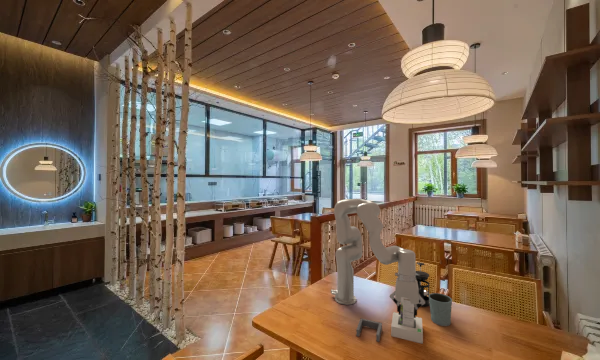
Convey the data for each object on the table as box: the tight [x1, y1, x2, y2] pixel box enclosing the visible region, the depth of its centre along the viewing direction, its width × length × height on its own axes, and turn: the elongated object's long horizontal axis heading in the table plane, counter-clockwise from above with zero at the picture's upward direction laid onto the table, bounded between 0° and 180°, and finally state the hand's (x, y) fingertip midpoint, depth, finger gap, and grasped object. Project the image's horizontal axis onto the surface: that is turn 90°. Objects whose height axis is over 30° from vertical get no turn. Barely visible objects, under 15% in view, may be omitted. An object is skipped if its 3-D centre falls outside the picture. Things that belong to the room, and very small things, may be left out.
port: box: [390, 311, 424, 345], centre depth 116 cm, size 13×13×5 cm
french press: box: [416, 262, 430, 308], centre depth 143 cm, size 12×9×23 cm
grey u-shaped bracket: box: [355, 317, 383, 343], centre depth 116 cm, size 10×10×3 cm
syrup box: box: [400, 297, 414, 328], centre depth 116 cm, size 6×6×14 cm
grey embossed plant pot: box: [429, 292, 453, 327], centre depth 125 cm, size 10×10×12 cm
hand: (407, 314), depth 116 cm, fingers closed on syrup box, 5 cm apart
